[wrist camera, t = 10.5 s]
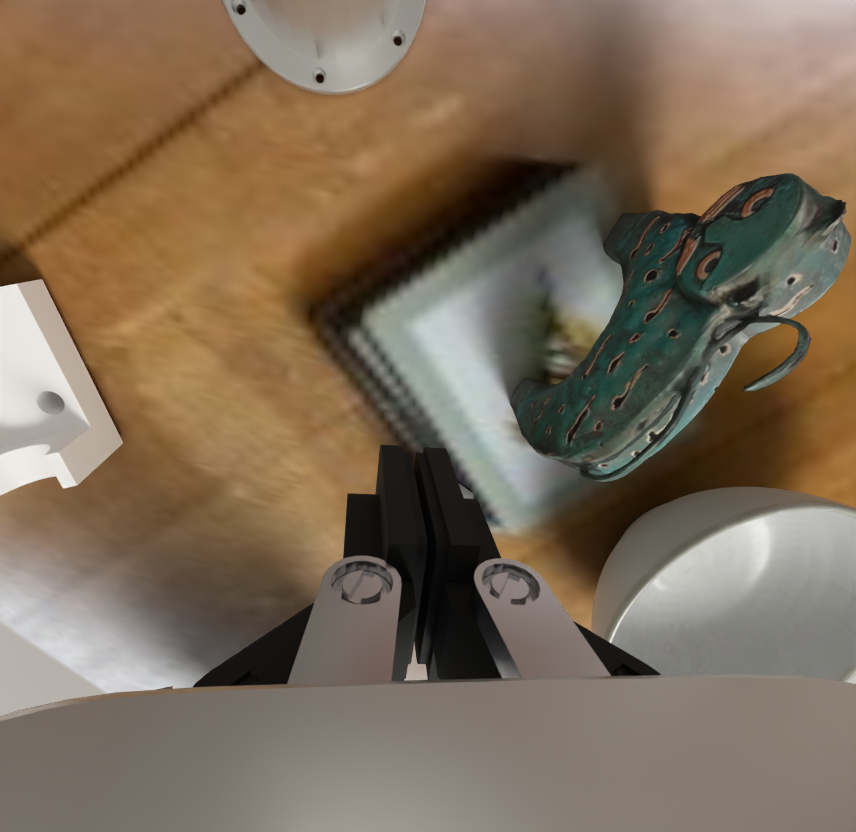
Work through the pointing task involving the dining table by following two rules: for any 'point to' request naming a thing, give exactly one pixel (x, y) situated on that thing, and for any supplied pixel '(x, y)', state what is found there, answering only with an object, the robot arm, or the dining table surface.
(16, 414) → the bracket
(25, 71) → the dining table surface
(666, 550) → the decorative bowl
